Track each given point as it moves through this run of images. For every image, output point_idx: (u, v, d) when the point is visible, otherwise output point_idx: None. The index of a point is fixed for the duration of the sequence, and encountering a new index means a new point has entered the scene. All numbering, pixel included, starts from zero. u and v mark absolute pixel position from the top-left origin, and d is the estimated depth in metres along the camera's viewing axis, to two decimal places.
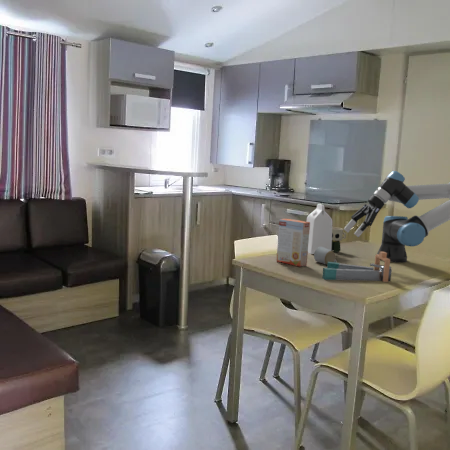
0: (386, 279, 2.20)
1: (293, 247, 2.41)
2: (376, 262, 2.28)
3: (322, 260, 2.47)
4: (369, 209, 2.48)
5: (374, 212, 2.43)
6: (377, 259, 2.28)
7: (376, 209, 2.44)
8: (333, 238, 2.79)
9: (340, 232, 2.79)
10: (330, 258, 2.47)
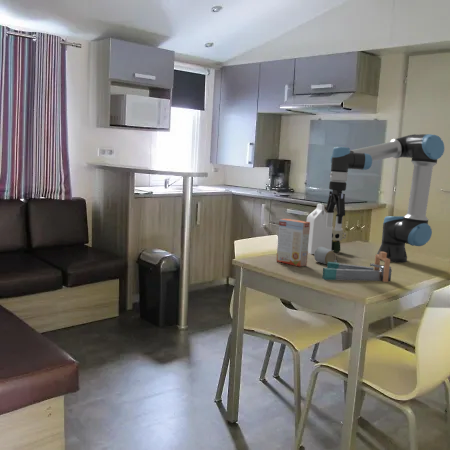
0: (386, 279, 2.20)
1: (293, 247, 2.41)
2: (376, 262, 2.28)
3: (322, 260, 2.47)
4: (335, 197, 2.33)
5: (340, 200, 2.29)
6: (377, 259, 2.28)
7: (341, 196, 2.29)
8: (333, 238, 2.79)
9: (340, 232, 2.79)
10: (330, 258, 2.47)
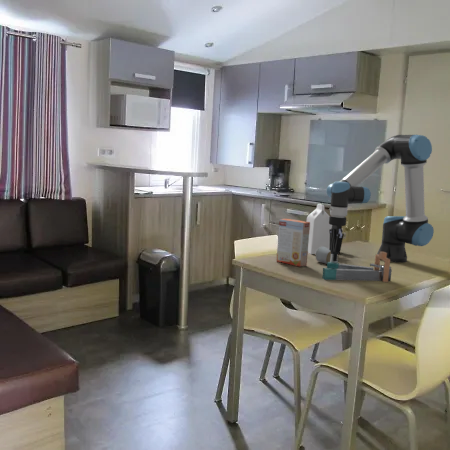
0: (386, 279, 2.20)
1: (293, 246, 2.41)
2: (376, 262, 2.28)
3: (324, 260, 2.48)
4: (334, 234, 2.31)
5: (338, 239, 2.28)
6: (377, 259, 2.28)
7: (339, 236, 2.27)
8: None
9: None
10: None
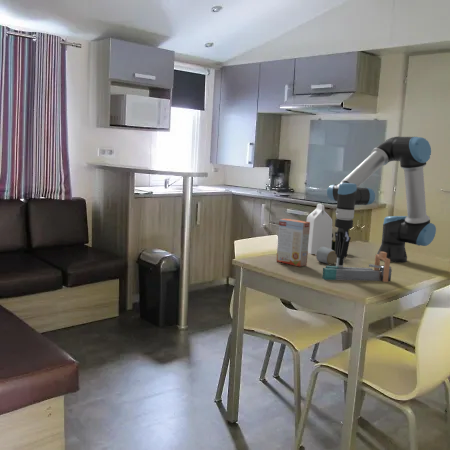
0: (386, 279, 2.20)
1: (293, 246, 2.41)
2: (376, 262, 2.28)
3: (324, 260, 2.48)
4: (340, 237, 2.23)
5: (345, 243, 2.20)
6: (377, 259, 2.28)
7: (346, 239, 2.19)
8: (333, 238, 2.79)
9: None
10: (332, 258, 2.48)
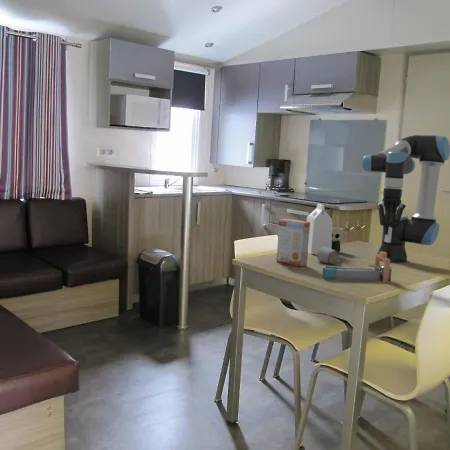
0: (386, 279, 2.20)
1: (293, 247, 2.41)
2: (376, 262, 2.28)
3: (325, 260, 2.49)
4: None
5: (379, 210, 2.22)
6: (377, 259, 2.28)
7: (378, 206, 2.22)
8: (333, 238, 2.79)
9: (340, 232, 2.79)
10: (333, 258, 2.48)
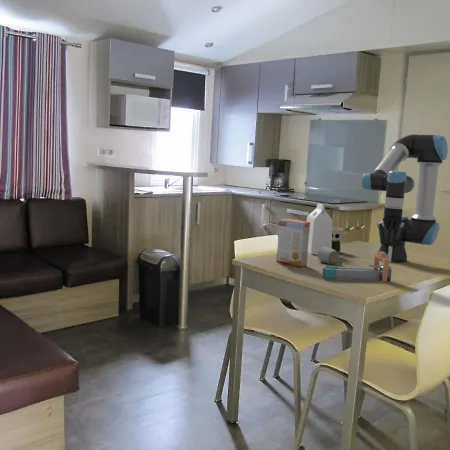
0: (385, 279, 2.20)
1: (293, 246, 2.41)
2: (375, 262, 2.28)
3: (326, 260, 2.49)
4: None
5: (379, 229, 2.22)
6: (376, 259, 2.28)
7: (378, 225, 2.22)
8: (333, 238, 2.79)
9: (340, 232, 2.79)
10: (334, 258, 2.49)
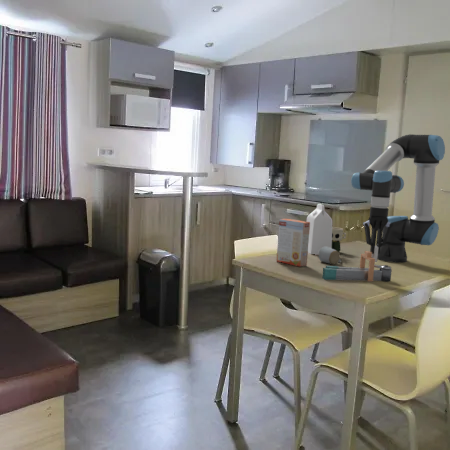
0: (371, 278, 2.19)
1: (293, 247, 2.41)
2: (361, 262, 2.27)
3: (327, 259, 2.49)
4: None
5: (365, 229, 2.21)
6: (362, 259, 2.27)
7: (363, 225, 2.21)
8: (333, 238, 2.79)
9: (340, 232, 2.79)
10: (334, 258, 2.49)
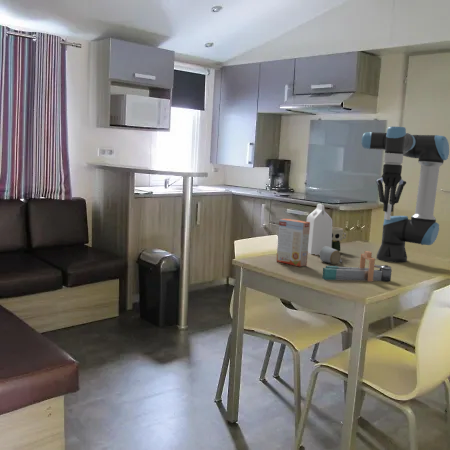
0: (370, 278, 2.19)
1: (293, 246, 2.41)
2: (361, 262, 2.27)
3: (328, 259, 2.49)
4: None
5: (378, 186, 2.19)
6: (362, 259, 2.27)
7: (377, 182, 2.19)
8: (333, 238, 2.79)
9: (340, 232, 2.79)
10: (335, 258, 2.49)
